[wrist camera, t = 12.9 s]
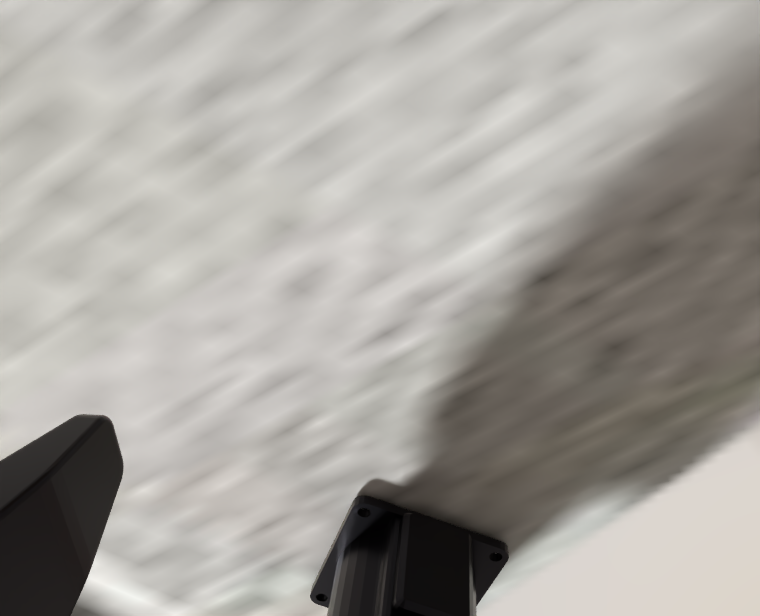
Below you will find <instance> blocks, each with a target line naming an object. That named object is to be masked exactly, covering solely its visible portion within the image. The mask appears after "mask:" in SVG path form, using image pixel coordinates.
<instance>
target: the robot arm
mask: <svg viewBox="0 0 760 616" xmlns="http://www.w3.org/2000/svg"><path fill="white" fill-rule="evenodd" d="M122 475H123V459H122V455H121V451H120V448H119V444H118V440H117V437H116V433H115V430H114V426H113V423H112V421H111V420H110V418H108V417H107V416H104V415H87V414H82V415H76V416H75V417H73V418H71V419H69V420H68V421H66V422H64V423H63V424H61V425H59V426H58V427H56V428H54V429H53V430H51V431H49V432H48V433H46V434H44V435H43V436H41V437H39V438H38V439H36V440H34V441H33V442H31V443H29V444H28V445H26V446H24V447H23V448H21V449H19V450H18V451H16V452H14V453H13V454H11V455H9V456H8V457H6V458H5V459H3V460H1V461H0V616H70V615H71V613H72V611H73V609H74V607H75V604H76V602H77V600H78V598H79V596H80V594H81V591H82V589H83V587H84V584H85V582H86V580H87V577H88V575H89V572H90V569H91V567H92V564H93V561H94V558H95V555H96V552H97V549H98V547H99V544H100V541H101V538H102V535H103V532H104V529H105V526H106V523H107V520H108V517H109V515H110V512H111V509H112V506H113V503H114V500H115V497H116V494H117V491H118V488H119V485H120V482H121V479H122ZM361 508H366V509H368V510H363V509H361ZM495 552H496V553H495ZM508 558H509V555H508V547H507V545H506V544H505V543H504V542H502V541H499V540H496V539H493V538H490V537H487V536H485V535H482V534H479V533H476V532H473V531H470V530H467V529H464V528H461V527H458V526H455V525H452V524H449V523H446V522H443V521H440V520H437V519H434V518H431V517H428V516H425V515H422V514H419V513H416V512H414V511H411V510H408V509H405V508H402V507H399V506H396V505H393V504H390V503H387V502H384V501H381V500H378V499H375V498H372V497H369V496H359V497H357V498H355V500H354V501H353V503H352V505H351V507H350V509H349V511H348V513H347V515H346V517H345V519H344V521H343V523H342V525H341V527H340V530H339V532H338V534H337V536H336V538H335V540H334V542H333V544H332V546H331V548H330V550H329V552H328V555H327V557H326V559H325V561H324V563H323V565H322V567H321V569H320V571H319V573H318V575H317V577H316V579H315V582H314V584H313V586H312V590H311V595H310V598H311V600H312V601H313V602H314V603H316V604H318V605H321V606H324V607H327V608H328V614H327V616H476V606H477V604H478V603H479V602H480V600H481V599H482V597H483V596H484V594H485V593H486V591H487V590H488V589H489V587H490V586H491V584H492V583H493V581H494V580H495V578H496V577H497V575H498V574H499V573H500V571H501V570H502V568H503V567H504V565H505V564H506V562H507V561H508Z"/></svg>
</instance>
